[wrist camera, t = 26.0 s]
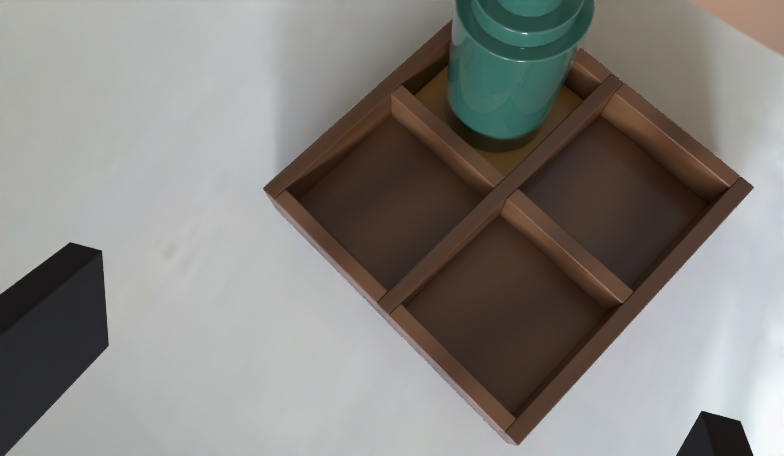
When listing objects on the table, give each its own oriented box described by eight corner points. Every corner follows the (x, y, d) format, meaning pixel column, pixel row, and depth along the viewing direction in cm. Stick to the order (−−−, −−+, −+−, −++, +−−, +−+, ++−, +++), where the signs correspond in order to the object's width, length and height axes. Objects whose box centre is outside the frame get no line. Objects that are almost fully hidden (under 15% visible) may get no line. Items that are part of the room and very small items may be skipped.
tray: (275, 208, 34) (262, 188, 31) (489, 14, 37) (496, -21, 34) (507, 443, 30) (517, 446, 27) (723, 207, 33) (754, 187, 30)
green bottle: (422, 104, 34) (428, -52, 23) (493, 40, 35) (534, -141, 24) (497, 173, 33) (545, 44, 22) (569, 105, 34) (651, -54, 23)
